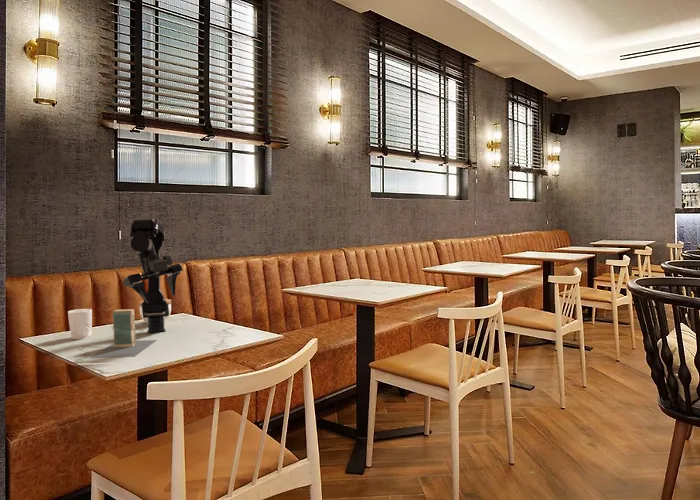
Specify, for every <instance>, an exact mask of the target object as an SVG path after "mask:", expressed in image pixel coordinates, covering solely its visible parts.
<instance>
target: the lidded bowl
mask: <svg viewBox="0 0 700 500" xmlns="http://www.w3.org/2000/svg"><path fill="white" fill-rule="evenodd" d="M165 300H166V302H167V304H168V307H169V316H167V317H165V316H164V324H166V321H167V320H168V319H169V318H170V315H171V312H172V299H169V298H165ZM142 302H144V300H140V301H139V302H138V306H139V314H140V317H141V318H142V320H143V321H144V322H145V323H146V324H147V325H148V318H143V312H142ZM163 313H165V312H163ZM153 314H156V313H153Z"/></svg>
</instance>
